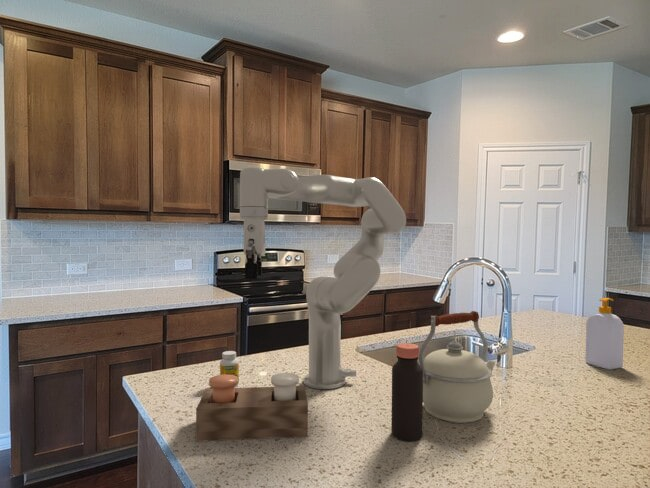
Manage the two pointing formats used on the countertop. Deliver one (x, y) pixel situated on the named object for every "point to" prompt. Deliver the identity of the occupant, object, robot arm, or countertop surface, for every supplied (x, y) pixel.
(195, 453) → the countertop surface
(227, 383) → the orange-brown round piece
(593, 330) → the soap bottle
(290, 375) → the cream button
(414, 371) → the vinegar
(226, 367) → the supplement bottle
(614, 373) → the countertop surface
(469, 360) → the kettle
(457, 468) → the countertop surface
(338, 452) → the countertop surface
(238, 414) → the wooden shaker caddy
